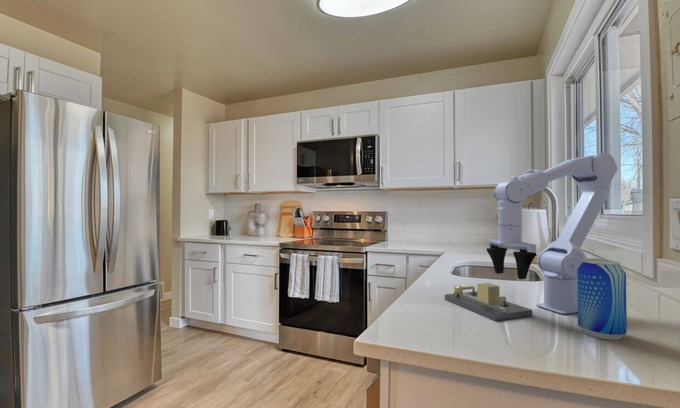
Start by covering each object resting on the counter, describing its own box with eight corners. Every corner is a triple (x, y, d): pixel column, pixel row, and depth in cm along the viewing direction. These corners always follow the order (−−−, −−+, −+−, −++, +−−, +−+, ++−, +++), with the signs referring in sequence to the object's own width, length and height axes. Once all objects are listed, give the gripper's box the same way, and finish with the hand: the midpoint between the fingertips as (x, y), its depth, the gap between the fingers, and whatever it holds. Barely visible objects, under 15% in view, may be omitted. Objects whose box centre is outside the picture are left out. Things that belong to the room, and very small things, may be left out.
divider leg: (499, 301, 91) (499, 281, 91) (511, 305, 87) (511, 285, 88) (477, 303, 89) (477, 283, 89) (488, 307, 85) (488, 287, 85)
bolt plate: (477, 296, 103) (477, 283, 104) (532, 315, 84) (532, 300, 85) (444, 299, 100) (444, 286, 100) (494, 320, 81) (494, 304, 81)
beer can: (568, 327, 76) (568, 258, 76) (601, 326, 77) (600, 257, 77) (601, 342, 68) (600, 264, 68) (637, 340, 69) (636, 264, 69)
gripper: (478, 224, 95) (478, 271, 94) (520, 227, 81) (521, 282, 81) (498, 224, 97) (498, 270, 97) (542, 226, 83) (543, 280, 83)
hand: (510, 275), depth 89 cm, fingers open, 7 cm apart
